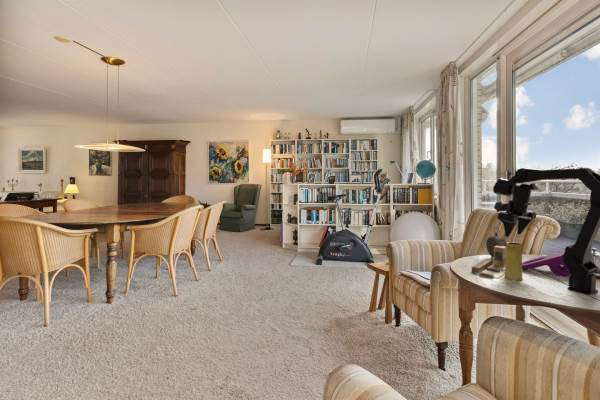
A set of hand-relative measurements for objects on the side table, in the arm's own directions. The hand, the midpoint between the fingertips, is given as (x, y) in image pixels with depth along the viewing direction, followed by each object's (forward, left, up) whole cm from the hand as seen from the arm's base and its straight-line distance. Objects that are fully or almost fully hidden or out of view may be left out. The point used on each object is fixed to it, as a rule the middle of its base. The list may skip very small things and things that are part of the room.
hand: (513, 235), depth 135 cm
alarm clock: (+18, -17, -17) cm, 30 cm away
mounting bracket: (-5, -15, -17) cm, 23 cm away
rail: (+8, +2, -17) cm, 18 cm away
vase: (-4, +5, -17) cm, 18 cm away
